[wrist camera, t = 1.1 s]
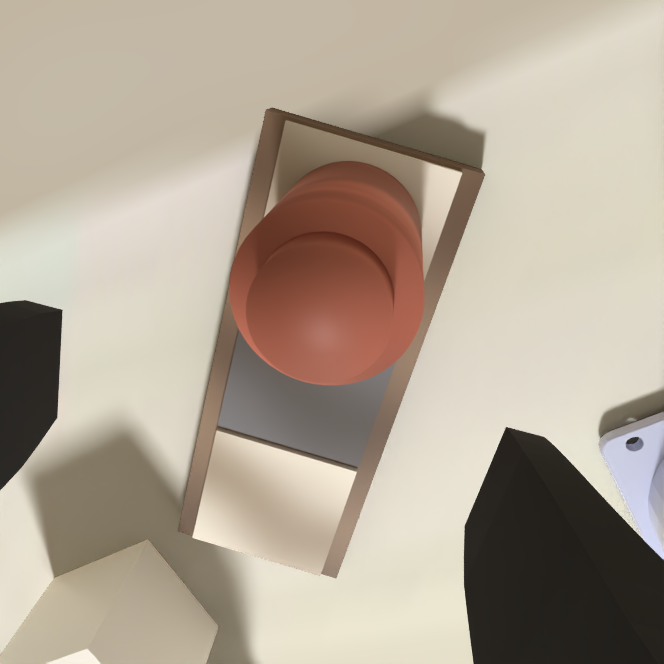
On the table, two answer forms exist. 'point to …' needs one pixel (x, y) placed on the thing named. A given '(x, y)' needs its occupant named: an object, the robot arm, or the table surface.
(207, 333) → the table surface
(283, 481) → the board
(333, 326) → the pawn
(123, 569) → the die
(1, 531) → the table surface
